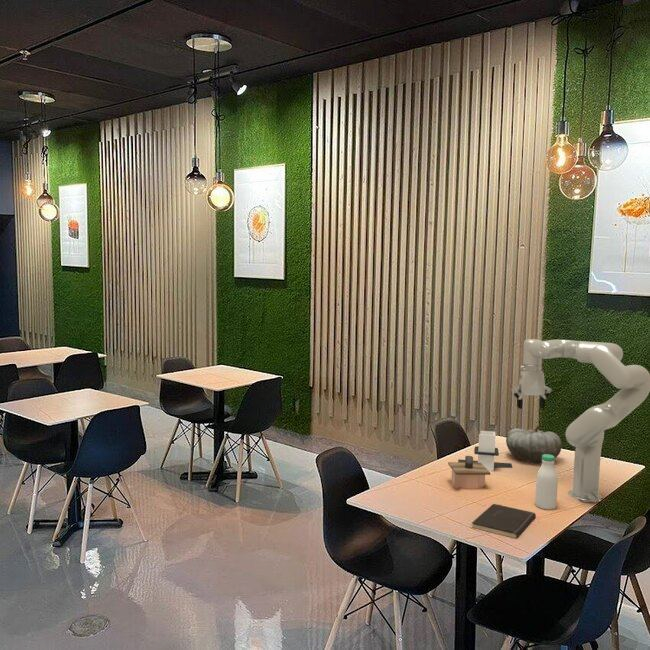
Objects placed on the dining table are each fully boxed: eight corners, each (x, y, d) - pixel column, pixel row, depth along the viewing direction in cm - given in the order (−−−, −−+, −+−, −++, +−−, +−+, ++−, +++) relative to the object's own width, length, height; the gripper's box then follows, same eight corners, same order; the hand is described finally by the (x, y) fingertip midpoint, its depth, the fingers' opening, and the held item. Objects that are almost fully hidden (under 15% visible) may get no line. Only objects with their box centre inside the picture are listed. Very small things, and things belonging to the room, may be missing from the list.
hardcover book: (471, 529, 229) (471, 522, 229) (492, 509, 248) (493, 503, 248) (516, 540, 221) (517, 533, 220) (535, 519, 240) (535, 513, 240)
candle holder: (458, 459, 310) (459, 425, 309) (511, 463, 305) (512, 428, 304) (457, 474, 286) (459, 437, 285) (515, 479, 281) (517, 441, 280)
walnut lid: (490, 474, 266) (490, 462, 265) (456, 474, 265) (456, 461, 264) (480, 464, 280) (481, 452, 279) (448, 464, 279) (448, 452, 278)
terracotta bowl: (487, 491, 267) (488, 474, 266) (456, 490, 266) (457, 474, 266) (478, 480, 279) (479, 464, 279) (449, 480, 279) (450, 464, 278)
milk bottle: (556, 511, 246) (558, 459, 244) (534, 508, 249) (537, 457, 247) (556, 504, 254) (559, 454, 252) (535, 501, 256) (538, 451, 254)
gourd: (543, 466, 294) (541, 427, 295) (495, 462, 312) (494, 425, 314) (571, 461, 310) (569, 424, 312) (524, 458, 329) (522, 423, 330)
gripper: (515, 369, 273) (514, 410, 274) (555, 369, 275) (554, 409, 276) (509, 367, 280) (507, 406, 282) (548, 367, 282) (546, 406, 283)
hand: (530, 408), depth 279 cm, fingers open, 9 cm apart
